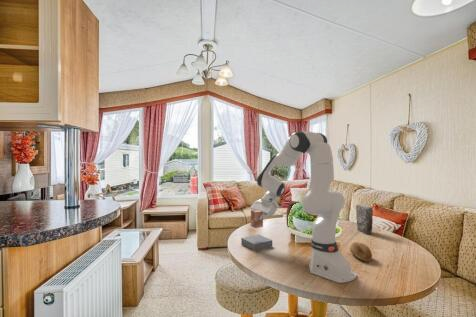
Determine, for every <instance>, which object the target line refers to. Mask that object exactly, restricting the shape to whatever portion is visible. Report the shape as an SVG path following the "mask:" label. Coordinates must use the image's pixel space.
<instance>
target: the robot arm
mask: <svg viewBox="0 0 476 317" xmlns="http://www.w3.org/2000/svg"><path fill="white" fill-rule="evenodd" d="M305 153H307V154H308V155H309V156H310V157H309V158H310V182H309V185H308V186H309V187H308V190H307V192H306V193H305V195H304V196H303V198H302V200H301V206H302V209H303V211H304V212H305V213H306V214H308V215H313V216H314V215H315V216H317V217H316V219H315V220H314V221H313V223H312V226H311V227H312V228H311V231H312V232H311V233H312V234H311V236H312V237H311V242H310V246H311V255H310V261H309V264H308V268H309V273H311V274H313V275H316V276H319V277H321V278H325V279H327V280H329V281H332V282H335V283H338V284H344V283H348V282H351V281H354V280H355V279H356V278H357V273H356V272H354V271H352V266H351V262H350V261H349V260H348V259H347V258H346V257H345V256H344V255H343V253H342V252H341V251H340V250H339V248H340V247H341V244H338V243H337V241H336V227H337V222H338V218H339V215H340V212H341V211H342V209H343V208H344V207H345V204H346V199H345V197H344V195H343V193H341V192H340V191H336V190H329V189H330V186H331V184H332V182H334V179H335V172H334V170H335V169H334V159H333V158H334V157H333V151H332V148H331V146H330V144H328V139H327V136H326V135H325V134H323V133H321V132H313V131H302V130H300V131H296V132H293V133H291V136H289V137H288V139H286V142H285V143H284V144H283V147H282V150H281V151H279V153H277V152H276V153H275V154H273V155H272V157H271V158H270V159H269V160H268V162H267V164H266V165H265V166H264V168H263V170H262V171H261V172H260V173H259V174H258V176H257V178H256V183H257V186H259V187H261V188H263V189H264V190H266V192H265V193H264V195H262V197H261V198H260V199H257V200H254V202H253V203H252V204H251V205H250V211H251V210H259V211H261V212H263V213H262V215H261V216H259V217H258V219H259V220H261V219H262V218H263V219H264V218H265V217H266V216H268V217H271V218H272V217H273V216H274V215H275V214H276V212H277V210H278V209H279V207H280V206H279V204H278V202H277V201H278V199H279V198H280V197H281V196H283V194H284V193H285V190H286V184H285V183H284V182H283V181H282V180H280V179H278V178H277V177H274V176H273V175H271V174H270V173H271V171H272V169H273V168H274V167H275V166H281V167H292V166H295V165H296V164H297V163H298V162H299V159H300V158H301V155H302V154H305Z"/></svg>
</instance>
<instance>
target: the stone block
mask: <svg viewBox="0 0 476 317" xmlns="http://www.w3.org/2000/svg"><path fill="white" fill-rule="evenodd" d="M355 211H356V212H355V214H356V230H357V231H359V232H361V233H362V234H365V235H368V236H369V235H372V232H373V220H374V219H373V216H374V213H373V212H374V210H373V207H372V206H371V205H367V204H356V205H355Z"/></svg>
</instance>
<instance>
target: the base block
mask: <svg viewBox="0 0 476 317" xmlns="http://www.w3.org/2000/svg"><path fill="white" fill-rule="evenodd" d="M240 240H241V245H242V246H244V247H246V248H247V249H250V250H252V251H253V252H257V251H260V250H264V249H269V248H271V247H273V240H272V239H271V238H268V237H266V236H264V235H260V234H255V235H250V236H245V237H241V239H240Z"/></svg>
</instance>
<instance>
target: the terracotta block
mask: <svg viewBox="0 0 476 317" xmlns="http://www.w3.org/2000/svg"><path fill="white" fill-rule="evenodd" d="M262 213H263V212H261V211H259V210H251V209H250V227H252V228H255V229H259V228H263V227H264V218H262V219H261V220H259V219H258V217H259V216H261V215H262Z"/></svg>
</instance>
